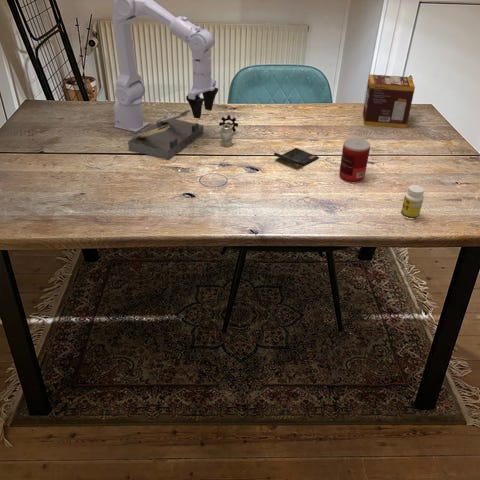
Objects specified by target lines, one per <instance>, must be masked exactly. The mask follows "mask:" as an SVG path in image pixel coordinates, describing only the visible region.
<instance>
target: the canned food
mask: <svg viewBox="0 0 480 480" xmlns="http://www.w3.org/2000/svg"><path fill="white" fill-rule="evenodd" d="M370 149H371V144H370V142H369V141H368V140H365V139H363V138H360V137H359V138H357V137H352V138H348V139H345V140H344V142H343V145H342V152H341V157H340V158H341V159H340V165H339V172H338V173H339V178H340V179H341V180H343V181H344V182H347V183H352V182H355V183H360V182H362V181H363V180H364V179H365V176H366V172H367V167H368V160H369V155H370Z"/></svg>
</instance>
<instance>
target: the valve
mask: <svg viewBox="0 0 480 480" xmlns="http://www.w3.org/2000/svg"><path fill="white" fill-rule="evenodd" d="M220 120H221V121H222V122H221V121H220V122H218V126H220V127H221V129H220V130H221V131H220V134H219V135H220V140H221V142H220V145H221V147H225V148H228V147H232V145H233V144H232V142H233V141H232V140H233V136H234V134H233V133H235V132H236V130H237V129H236V128H235V127H237V128H238V126H239V123H238V122H236V121H237V118H236V117H235V116H234V117H232V118H231V115H230V114H227V116H226V118H225V117H224V116H222V117H221V119H220ZM226 121H227V122H226ZM231 122H232V123H231Z"/></svg>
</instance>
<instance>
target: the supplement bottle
mask: <svg viewBox="0 0 480 480" xmlns="http://www.w3.org/2000/svg"><path fill="white" fill-rule="evenodd" d="M424 193H425V189H424V187H422V186H421V185H419V184H411V185H409V186H408V189H407V192H405V195H404V197H403V198H404V199H403V203H402V207H401V211H400V214H402V215H403V216H405V217H408V218H417V217H418V216H419V217H420V213H421V209H422V205H423V202H424V199H425V198H424ZM402 215H401V216H402ZM403 216H402V217H403ZM419 217H418V218H419ZM418 218H417V219H418Z"/></svg>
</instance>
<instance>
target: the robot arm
mask: <svg viewBox="0 0 480 480" xmlns="http://www.w3.org/2000/svg"><path fill="white" fill-rule="evenodd" d="M112 12H113V13H112V16H111V20H112V22H111V23H112V28H113V36H114V41H115V49H116V56H117V62H118V63H117V64H118V71H119V75H118V77H117V79H116V80H115V91H114V96H115V99H116V101H115V103H114V105H113V114H114V115H113V116H114V123H115V124H114V125H113V126H114V128H116V129H121V130H124V131H125V130H126V131H130V132H134V133H138V132H139V131H142V129H144V128H145V127H147V126H149V125H150V123H149V122H146V121H144V113H143V111H144V110H143V102H142V101H143V96H144V95H145V93H146V87H145V85H144V83H143V81H142V76H141V75H140V74H138V72H137V66H136V58H135V57H136V56H135V51H134V42H133V35H132V34H133V33H132V32H133V31H132V25H131V24H132V22H134V20H135V19H136V18H137V17H138V16H139V17H141V16H149V17H151V18H153V19H154V20H155V21H158V22H160V23H161V24H163V25H165V26H166V27H168V28H169V29H170V30H169V31H170V33H171V34H172V35H173V36H175V38H178V39H179V40H181V41H182V42H184V43H185V44H187V45H188V48H189V49H190V51H191V57H192V83H193V84H192V86H191V88H190V90H189V91H188V93H187V95H186V96H185V97H186V98H185V100H186V101H187V103H188V105H189V106H190V110H191V111H192V113H191V114H192V116H193V118H194V119H201V116H202V110H203V109H202V108H203V105H204V110H206V111H209V112H211V111H212V110H213V107H214V103H215V102H214V101H215V99H216V96H217V94H218V92H219V88H218V87H217V79H214V78H213V79H212V48H213V47H214V45H215V40H216V39H215V35H214V34H213V32H212V31H210V30H209V29H207V28H203V29H201V26H199V25H195V24H193V22H190V21H189V20H188V17H186V16H181V15H179V16H174V15H173V14H172V13H171V12H169V11H168V10H167V9H165V8H164V7H162V6H161V5H160V4H158V3H157V2H156V1H154V0H114V1H113V11H112ZM201 94H202V97H200V95H201Z"/></svg>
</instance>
